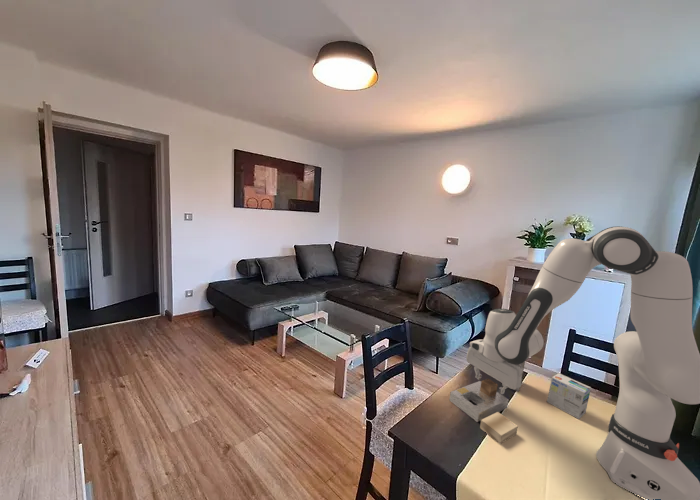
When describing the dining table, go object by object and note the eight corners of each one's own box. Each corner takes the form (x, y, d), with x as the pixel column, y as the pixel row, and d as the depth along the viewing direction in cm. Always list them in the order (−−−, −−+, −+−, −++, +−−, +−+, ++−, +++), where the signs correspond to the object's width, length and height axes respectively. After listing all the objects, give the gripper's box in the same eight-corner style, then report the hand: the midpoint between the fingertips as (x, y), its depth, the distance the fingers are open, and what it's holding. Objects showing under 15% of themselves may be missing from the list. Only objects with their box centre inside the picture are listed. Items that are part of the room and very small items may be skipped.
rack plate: (507, 408, 106) (508, 399, 106) (477, 422, 98) (479, 412, 97) (478, 388, 116) (479, 380, 116) (449, 400, 108) (450, 391, 107)
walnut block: (496, 394, 108) (497, 384, 108) (489, 396, 106) (491, 387, 105) (486, 387, 112) (488, 378, 111) (479, 390, 110) (481, 380, 109)
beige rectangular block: (516, 434, 94) (518, 426, 93) (499, 443, 89) (501, 435, 89) (496, 419, 100) (497, 411, 99) (479, 427, 95) (481, 419, 95)
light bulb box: (585, 413, 107) (592, 387, 105) (579, 420, 103) (585, 392, 101) (553, 396, 115) (558, 371, 114) (545, 402, 112) (551, 376, 110)
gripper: (528, 363, 99) (521, 400, 101) (476, 337, 116) (471, 369, 119) (518, 367, 96) (511, 405, 98) (466, 340, 113) (461, 372, 115)
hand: (489, 385), depth 108 cm, fingers open, 8 cm apart
